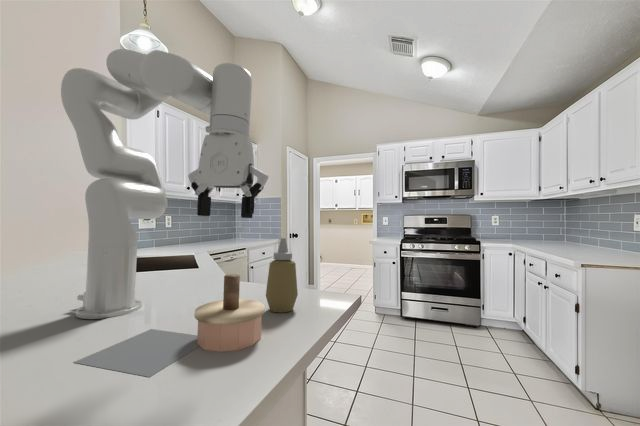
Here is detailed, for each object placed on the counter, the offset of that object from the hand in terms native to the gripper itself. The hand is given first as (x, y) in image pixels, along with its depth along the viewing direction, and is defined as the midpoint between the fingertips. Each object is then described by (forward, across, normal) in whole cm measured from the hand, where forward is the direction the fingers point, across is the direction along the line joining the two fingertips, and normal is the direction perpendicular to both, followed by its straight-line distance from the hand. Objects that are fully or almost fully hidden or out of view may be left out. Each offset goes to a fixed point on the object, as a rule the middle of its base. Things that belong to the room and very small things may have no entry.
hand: (224, 216), depth 55 cm
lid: (+18, +4, -2) cm, 18 cm away
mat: (+23, -6, -10) cm, 26 cm away
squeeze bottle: (+23, +6, +18) cm, 30 cm away
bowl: (+23, +4, -2) cm, 23 cm away
